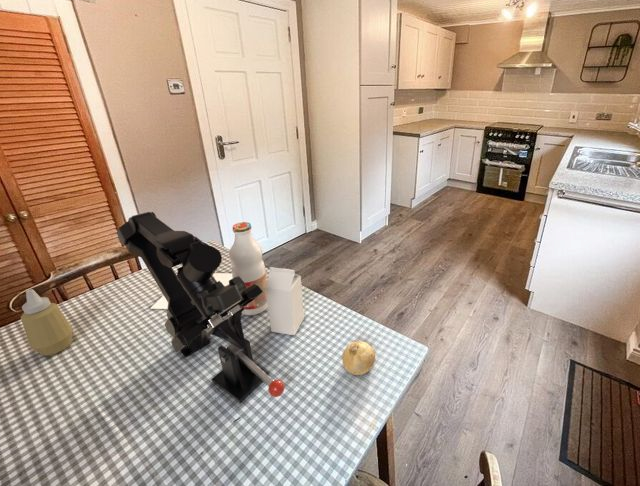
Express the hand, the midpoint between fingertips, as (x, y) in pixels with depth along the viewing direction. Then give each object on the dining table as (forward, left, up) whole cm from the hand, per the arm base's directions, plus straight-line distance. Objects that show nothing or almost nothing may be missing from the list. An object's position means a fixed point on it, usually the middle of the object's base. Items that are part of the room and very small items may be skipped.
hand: (244, 347), depth 64 cm
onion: (+14, +21, -13) cm, 28 cm away
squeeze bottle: (-50, -27, -13) cm, 59 cm away
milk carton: (-11, +18, -13) cm, 25 cm away
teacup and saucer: (-48, +8, -13) cm, 51 cm away
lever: (+1, +1, -7) cm, 7 cm away
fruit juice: (-26, +16, -13) cm, 33 cm away
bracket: (-5, 0, -13) cm, 14 cm away
